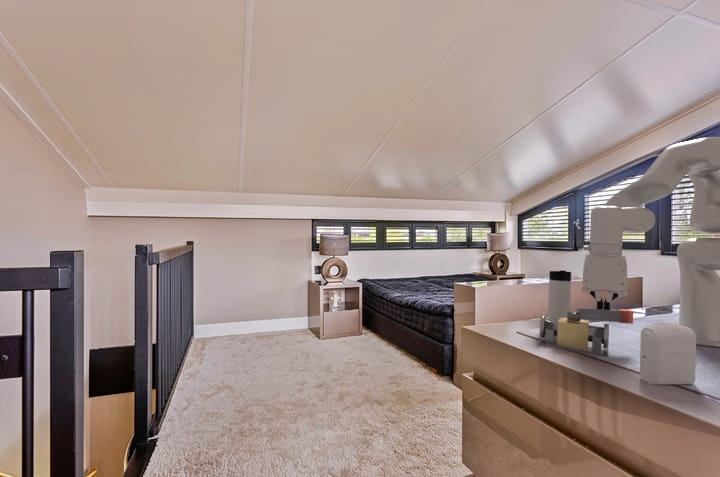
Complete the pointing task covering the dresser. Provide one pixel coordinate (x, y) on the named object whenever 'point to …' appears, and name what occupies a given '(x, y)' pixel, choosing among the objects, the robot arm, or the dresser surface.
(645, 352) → the photo printer
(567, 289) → the travel mug
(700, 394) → the dresser surface
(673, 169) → the robot arm
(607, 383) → the dresser surface
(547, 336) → the grey vise
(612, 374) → the dresser surface
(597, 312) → the lever
